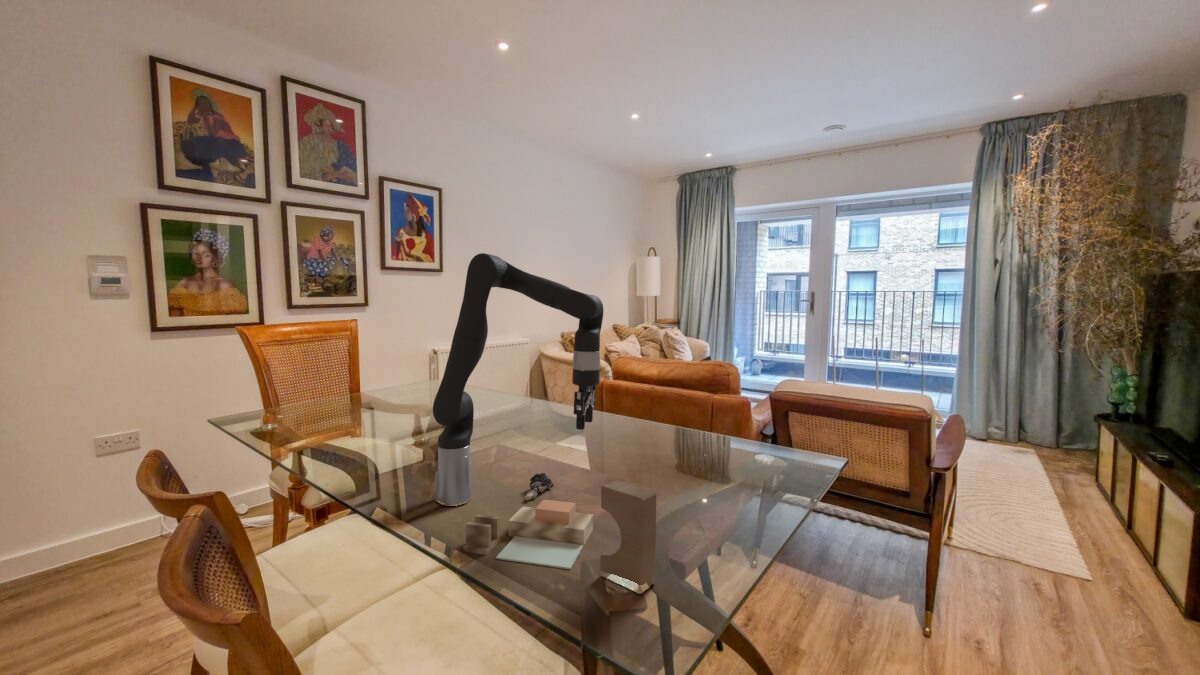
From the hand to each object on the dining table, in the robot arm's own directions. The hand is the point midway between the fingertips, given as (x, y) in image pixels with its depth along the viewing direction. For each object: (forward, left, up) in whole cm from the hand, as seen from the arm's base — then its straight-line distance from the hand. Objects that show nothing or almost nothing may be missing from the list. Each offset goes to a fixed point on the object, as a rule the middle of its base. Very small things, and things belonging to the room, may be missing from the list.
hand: (584, 425), depth 128 cm
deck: (-6, -11, -26) cm, 29 cm away
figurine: (-19, +14, -27) cm, 35 cm away
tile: (-5, -10, -22) cm, 25 cm away
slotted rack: (-20, -21, -26) cm, 39 cm away
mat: (-5, -21, -26) cm, 34 cm away
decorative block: (+17, -27, -26) cm, 42 cm away
